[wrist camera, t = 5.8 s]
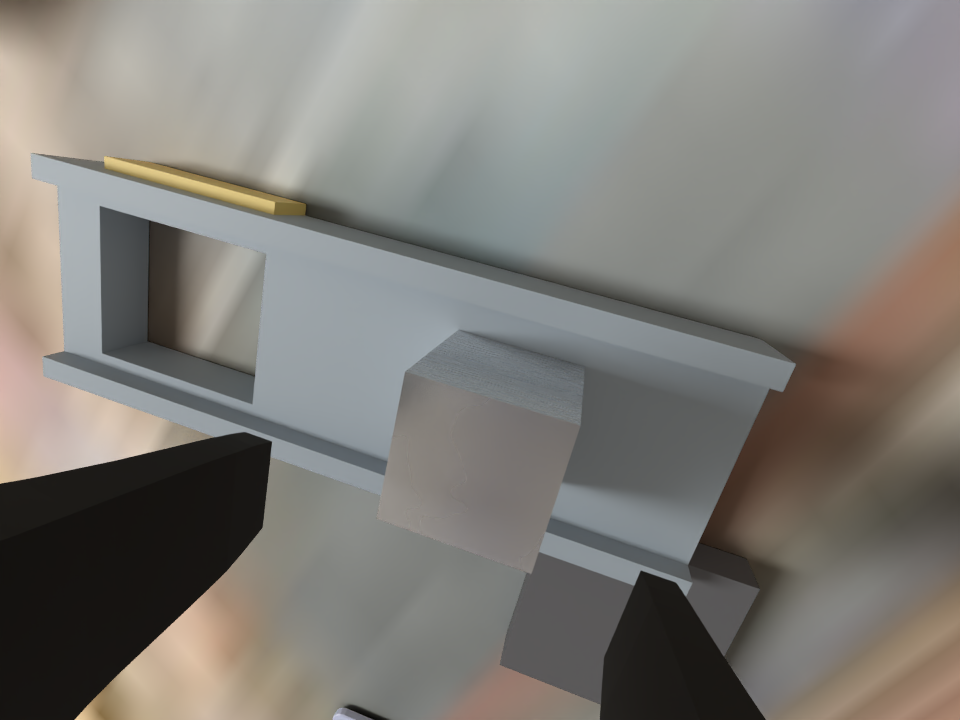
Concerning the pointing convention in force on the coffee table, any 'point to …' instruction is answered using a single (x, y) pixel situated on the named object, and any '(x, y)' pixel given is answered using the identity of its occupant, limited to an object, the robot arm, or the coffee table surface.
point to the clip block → (482, 447)
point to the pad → (609, 616)
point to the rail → (405, 356)
